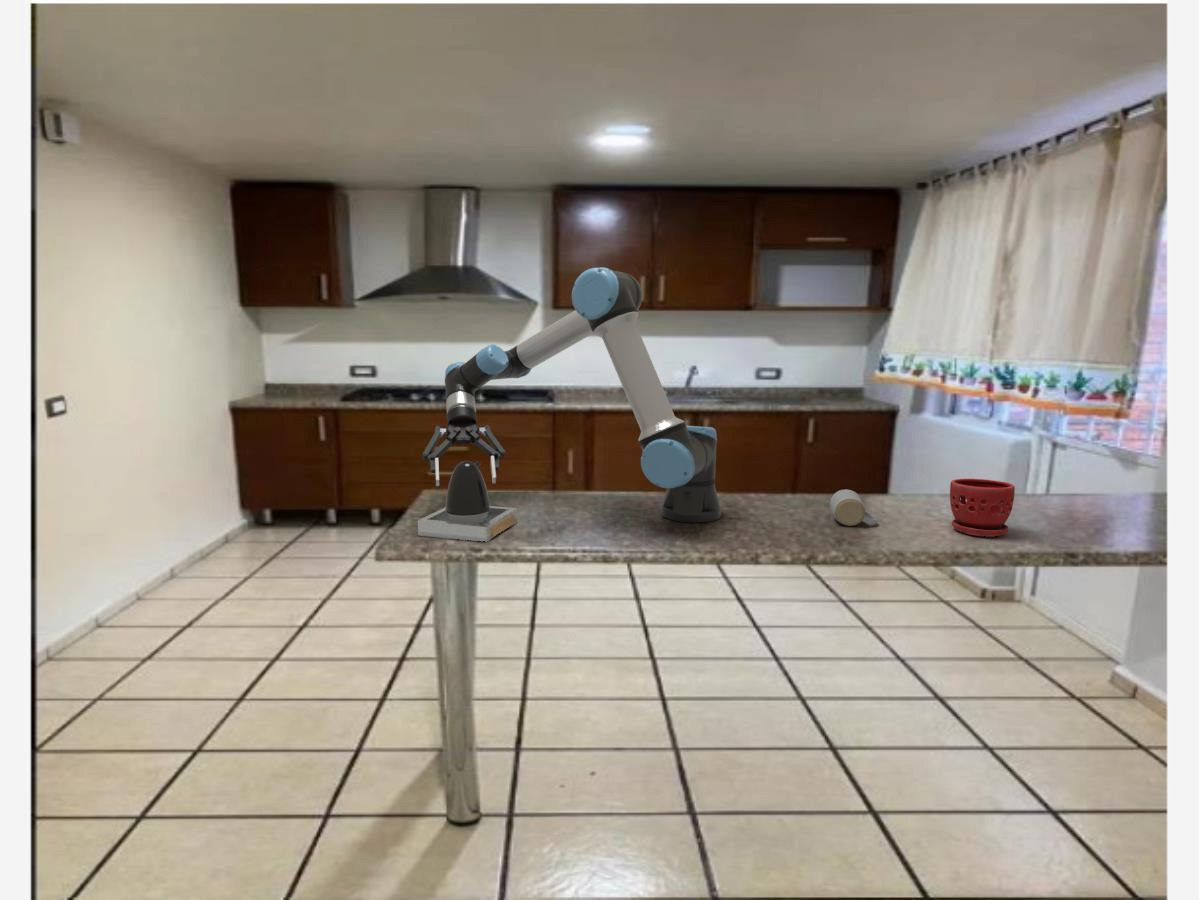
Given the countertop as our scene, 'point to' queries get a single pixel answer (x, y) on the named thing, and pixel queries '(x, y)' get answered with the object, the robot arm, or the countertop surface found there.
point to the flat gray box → (467, 525)
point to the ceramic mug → (850, 509)
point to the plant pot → (981, 506)
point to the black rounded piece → (467, 494)
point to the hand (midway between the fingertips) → (466, 481)
